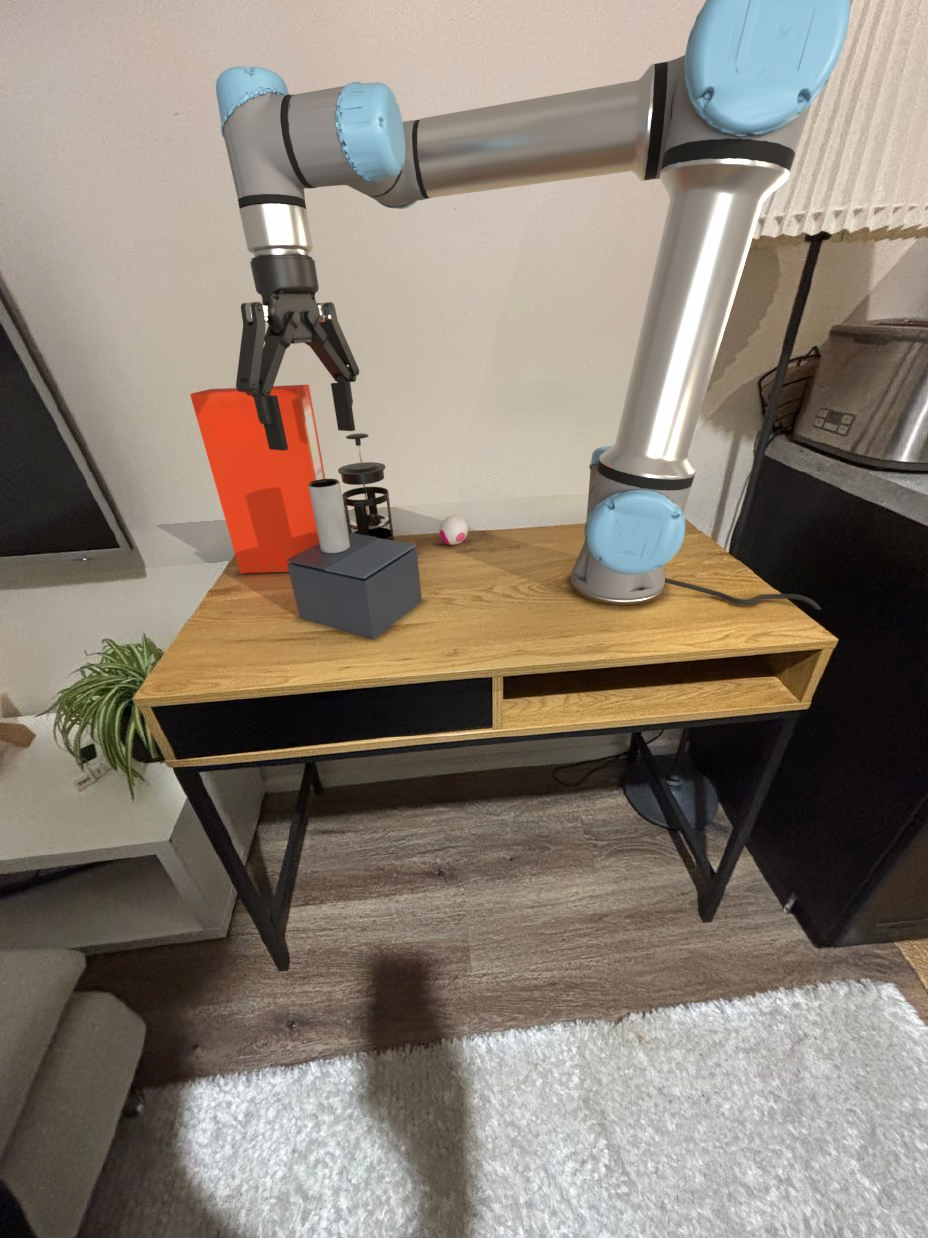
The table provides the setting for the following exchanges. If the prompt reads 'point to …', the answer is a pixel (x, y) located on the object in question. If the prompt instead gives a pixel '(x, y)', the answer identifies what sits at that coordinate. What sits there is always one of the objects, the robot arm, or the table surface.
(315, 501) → the gray hollow cylinder
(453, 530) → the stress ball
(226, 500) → the file binder
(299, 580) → the carton
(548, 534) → the table surface
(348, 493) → the french press
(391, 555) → the flap
